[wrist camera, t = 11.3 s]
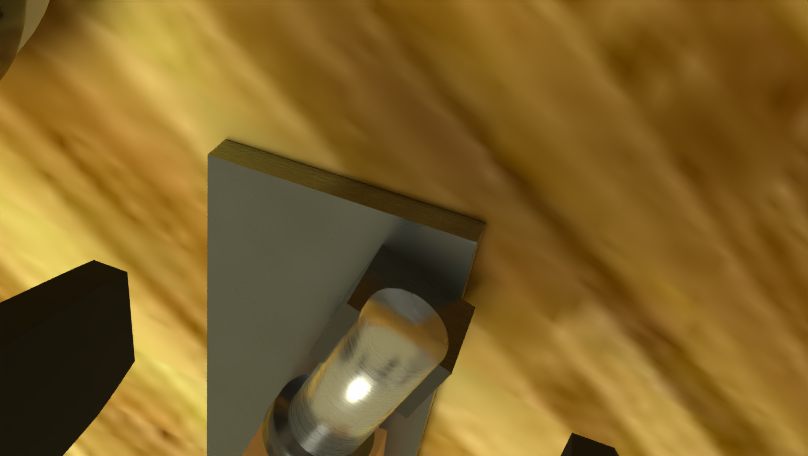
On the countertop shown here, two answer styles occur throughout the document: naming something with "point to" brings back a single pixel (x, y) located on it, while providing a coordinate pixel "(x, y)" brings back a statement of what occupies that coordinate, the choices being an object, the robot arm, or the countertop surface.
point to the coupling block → (257, 452)
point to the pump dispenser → (17, 27)
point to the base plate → (303, 278)
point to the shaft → (370, 362)
